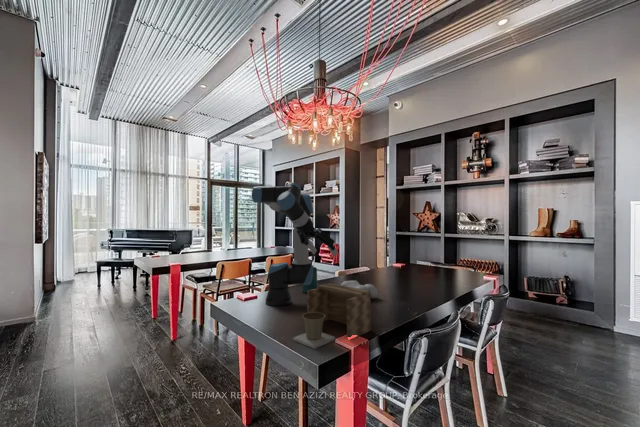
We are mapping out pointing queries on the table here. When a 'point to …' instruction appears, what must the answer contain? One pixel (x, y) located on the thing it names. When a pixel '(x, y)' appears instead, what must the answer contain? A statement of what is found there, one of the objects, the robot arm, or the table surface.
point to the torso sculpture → (362, 287)
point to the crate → (342, 306)
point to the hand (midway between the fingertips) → (325, 253)
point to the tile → (316, 342)
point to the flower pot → (313, 324)
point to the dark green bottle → (313, 282)
